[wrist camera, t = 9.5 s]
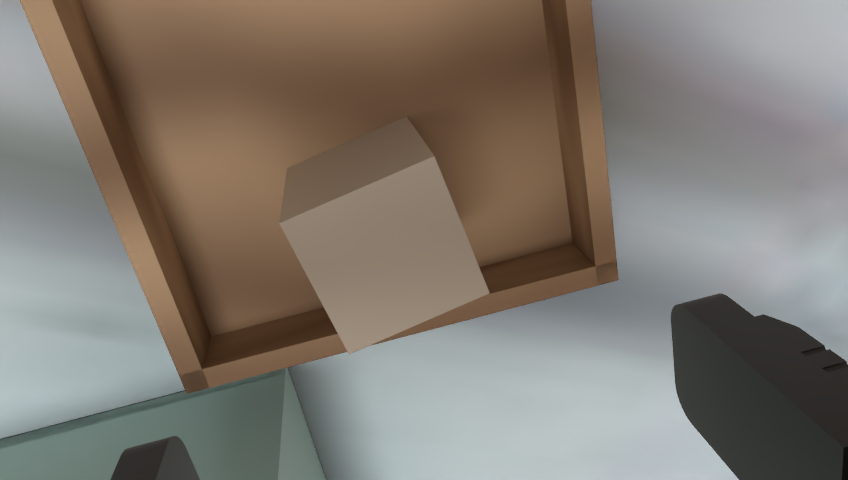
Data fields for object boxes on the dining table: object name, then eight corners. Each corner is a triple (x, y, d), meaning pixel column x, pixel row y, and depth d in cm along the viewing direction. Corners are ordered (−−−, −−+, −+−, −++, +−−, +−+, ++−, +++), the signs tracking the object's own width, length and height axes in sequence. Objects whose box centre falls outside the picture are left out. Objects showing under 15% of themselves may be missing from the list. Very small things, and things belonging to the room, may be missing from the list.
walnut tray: (-16, -187, 16) (-72, -216, 14) (523, -294, 17) (557, -339, 15) (200, 350, 22) (187, 393, 20) (587, 249, 23) (618, 279, 21)
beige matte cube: (287, 168, 20) (279, 223, 15) (406, 116, 20) (434, 155, 15) (341, 275, 22) (348, 354, 17) (452, 227, 22) (489, 292, 17)
